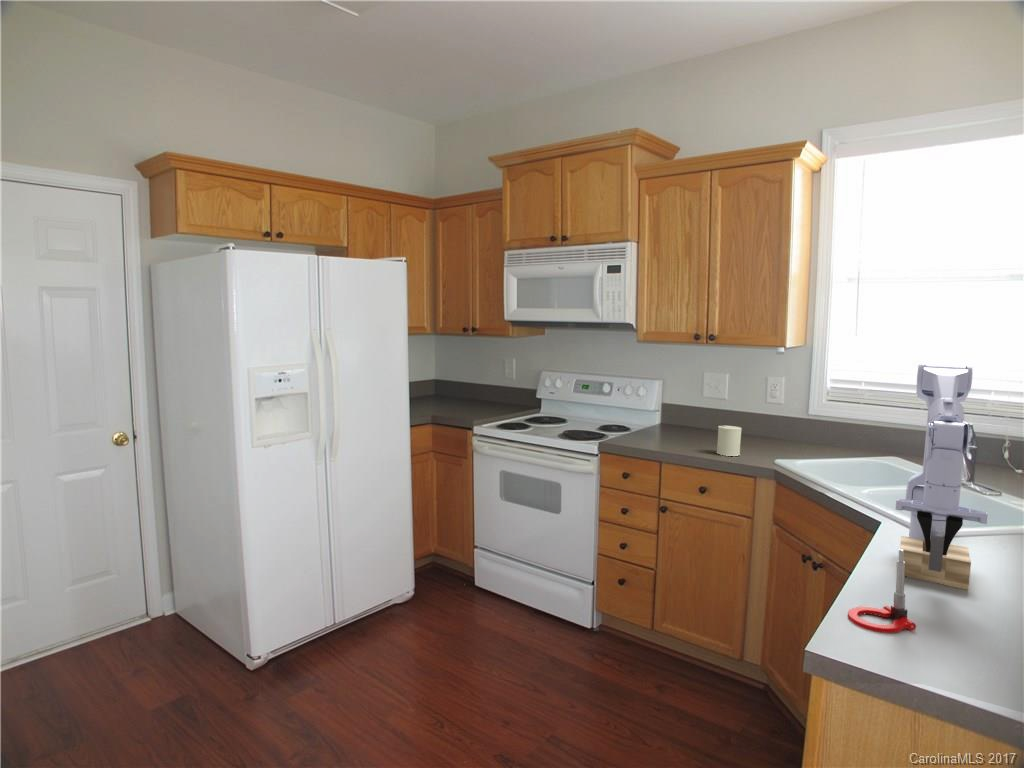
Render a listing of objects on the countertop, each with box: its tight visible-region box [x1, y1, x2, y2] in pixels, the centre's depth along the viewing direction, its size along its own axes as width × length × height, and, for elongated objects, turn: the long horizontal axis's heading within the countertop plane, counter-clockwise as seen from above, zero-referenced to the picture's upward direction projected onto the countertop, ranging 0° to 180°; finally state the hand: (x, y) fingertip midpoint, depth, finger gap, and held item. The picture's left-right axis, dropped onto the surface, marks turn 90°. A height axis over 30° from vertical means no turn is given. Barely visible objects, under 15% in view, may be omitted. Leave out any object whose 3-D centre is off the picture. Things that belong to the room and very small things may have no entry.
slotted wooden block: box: [899, 535, 972, 590], centre depth 132 cm, size 11×12×6 cm
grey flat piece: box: [928, 527, 945, 572], centre depth 122 cm, size 7×2×7 cm, turn 146°
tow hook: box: [847, 548, 917, 634], centre depth 108 cm, size 8×13×9 cm
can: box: [716, 425, 742, 456], centre depth 257 cm, size 9×9×12 cm
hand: (935, 552), depth 122 cm, fingers closed on grey flat piece, 2 cm apart
